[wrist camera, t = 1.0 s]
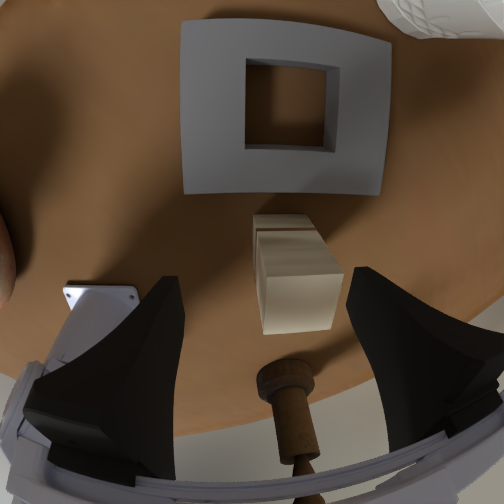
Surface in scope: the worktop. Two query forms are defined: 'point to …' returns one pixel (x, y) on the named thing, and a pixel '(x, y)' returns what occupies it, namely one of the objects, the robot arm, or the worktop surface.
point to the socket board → (274, 155)
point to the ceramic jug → (6, 264)
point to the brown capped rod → (292, 416)
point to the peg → (293, 274)
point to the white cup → (446, 18)
